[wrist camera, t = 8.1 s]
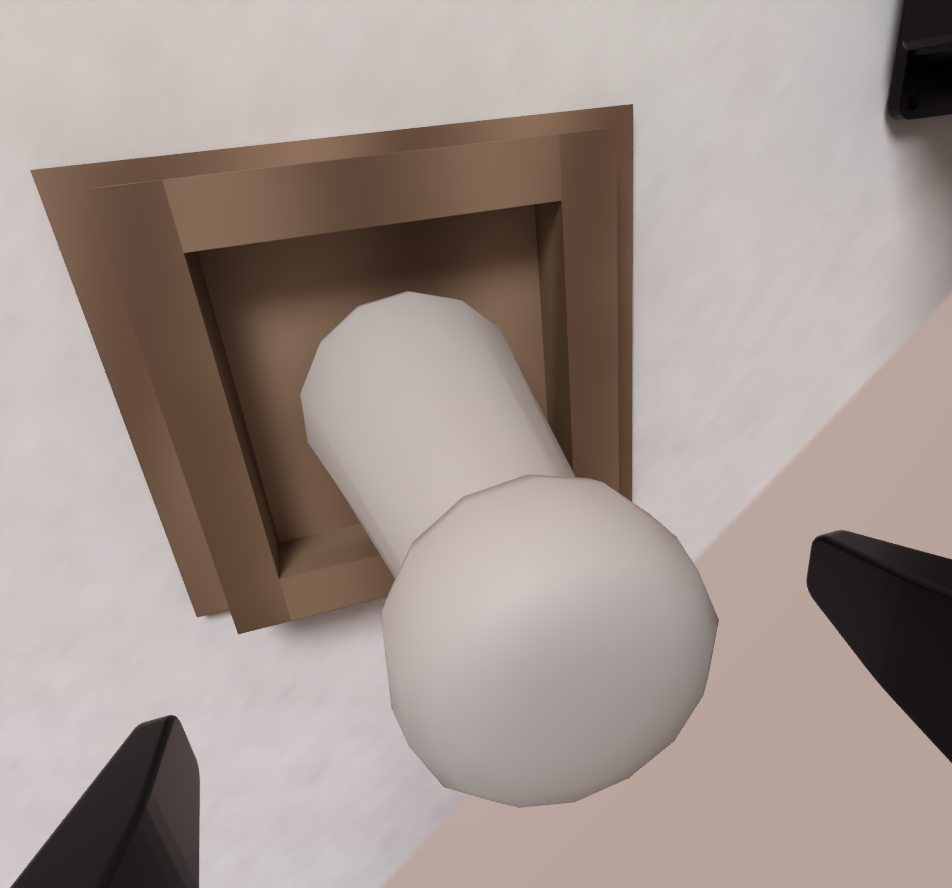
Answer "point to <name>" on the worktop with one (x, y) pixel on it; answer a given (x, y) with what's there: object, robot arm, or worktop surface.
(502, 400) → the salt shaker
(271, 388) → the brown flat rectangular frame
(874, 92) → the worktop surface
